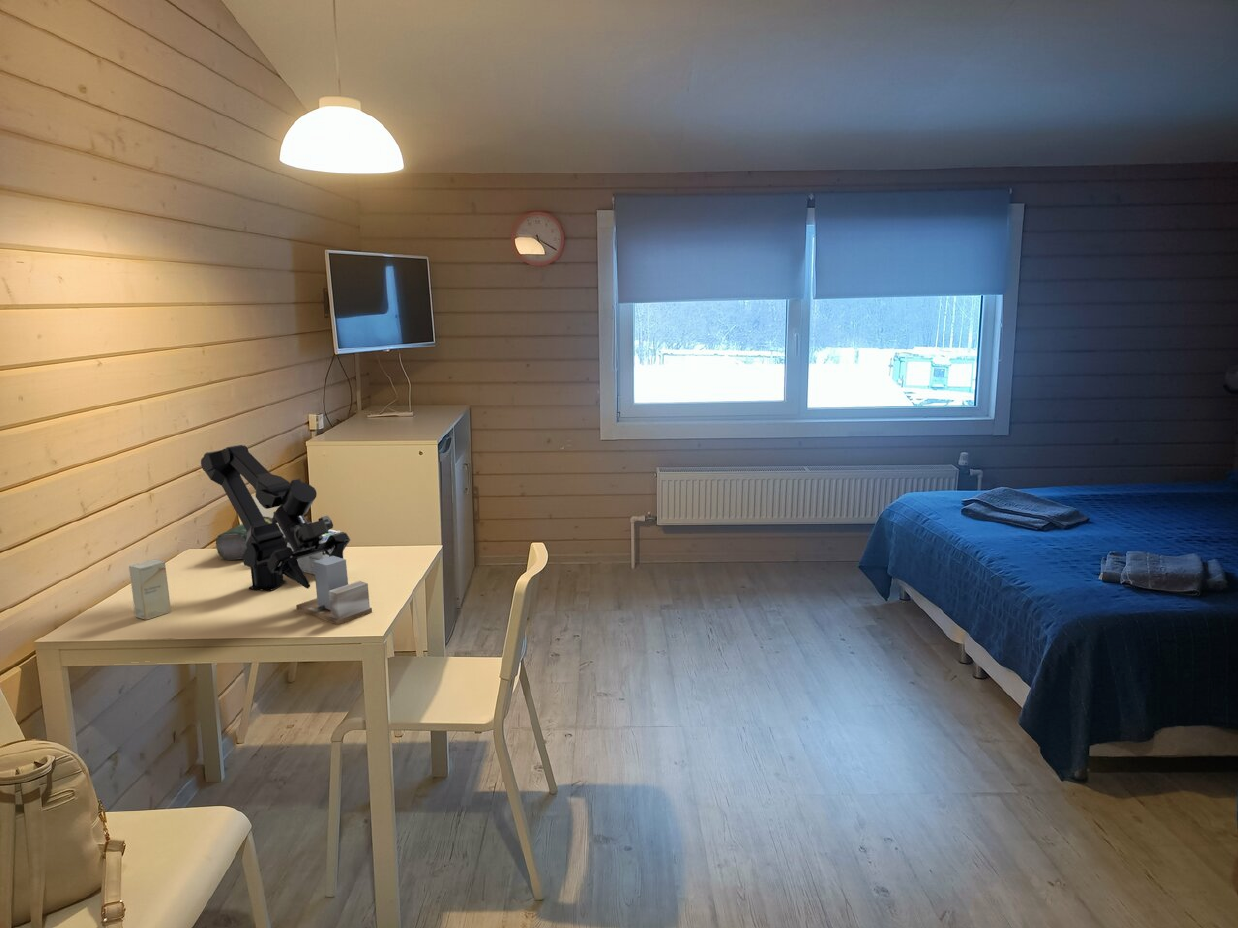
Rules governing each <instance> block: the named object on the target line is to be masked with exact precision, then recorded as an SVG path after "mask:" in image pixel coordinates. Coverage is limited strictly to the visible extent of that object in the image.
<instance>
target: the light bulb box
mask: <svg viewBox="0 0 1238 928" xmlns="http://www.w3.org/2000/svg"><path fill="white" fill-rule="evenodd" d="M328 532H329V533H327V534H326V533H325V534H323V535H322V536H323V539H322V540H321V541H319V543H320V544H321V543H324V542H326V541H327V540H328V538H329V536H330V535H333V534H337V533H341V532H342V530H336V529H330V530H328ZM327 557H329V555H327V554H326V553H325V551H323V552H320V553H316V554H313V555H309V556H306V557H302V558H299V559H297V560H298V565H299V567H300V568H301V570H302V572H303V573H306V574H311V575H314V576H315V571H314V561H316V560H320V559H323V558H327ZM343 559H345V558H344V556H343Z"/></svg>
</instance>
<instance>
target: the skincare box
mask: <svg viewBox="0 0 1238 928" xmlns="http://www.w3.org/2000/svg"><path fill="white" fill-rule="evenodd" d="M128 570H129V578H130V583H131V584H130V585H131V592H132V600H133V606H134V608H133V609H134V615H135V618H138V619H142V620H146V621H147V620H150V619H153V618H157V617H160V616H163V615H166V614H169V613H171V612H172V607H171V599H170V591H169V583H168V576H167V575H168V574H167V568H166V561H164V560H161V559H157V558H153V559H151V560H150V559H149V560H146V561H142V562H139V563H135V564H132V565H128Z"/></svg>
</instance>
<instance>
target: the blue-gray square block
mask: <svg viewBox="0 0 1238 928" xmlns="http://www.w3.org/2000/svg"><path fill="white" fill-rule="evenodd" d="M314 571H315V575H314V579H315V580H314V581H315V582H314V583H315V590H316V598H317V602H318V606H319V607H318V610H321V609H324V608H326V609H329V610H330V599H329V591H330V590H333V589H336V588H339V587H342V586H345V585H348V584H349V578H348V569H347V559H345V558H344V559H342V558H339V557H336V556H330V557H327V558H323V559H320V560H316V561H314Z"/></svg>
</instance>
